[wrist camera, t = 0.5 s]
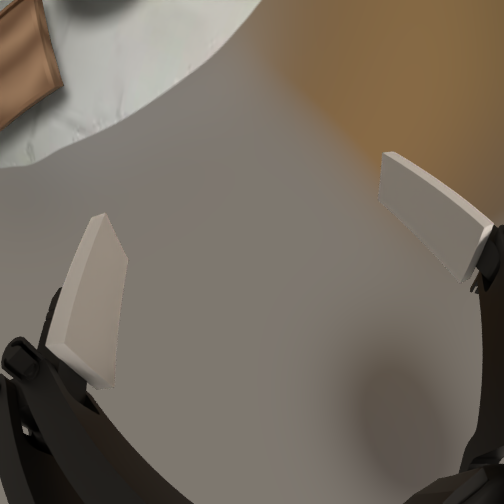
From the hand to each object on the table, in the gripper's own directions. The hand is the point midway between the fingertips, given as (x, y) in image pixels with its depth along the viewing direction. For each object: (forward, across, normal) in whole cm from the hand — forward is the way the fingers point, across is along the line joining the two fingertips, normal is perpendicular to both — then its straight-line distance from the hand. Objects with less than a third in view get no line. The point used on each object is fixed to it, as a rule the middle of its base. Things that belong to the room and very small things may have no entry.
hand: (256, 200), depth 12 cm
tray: (+27, -25, +17) cm, 40 cm away
